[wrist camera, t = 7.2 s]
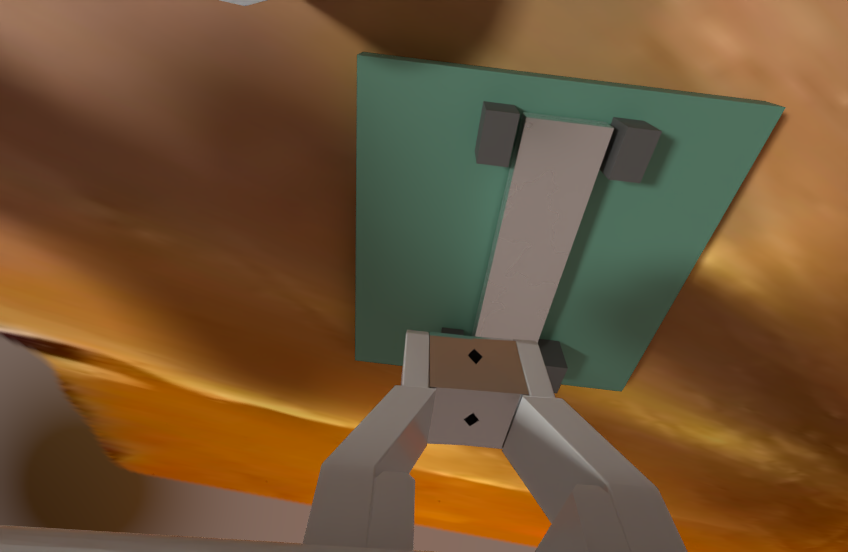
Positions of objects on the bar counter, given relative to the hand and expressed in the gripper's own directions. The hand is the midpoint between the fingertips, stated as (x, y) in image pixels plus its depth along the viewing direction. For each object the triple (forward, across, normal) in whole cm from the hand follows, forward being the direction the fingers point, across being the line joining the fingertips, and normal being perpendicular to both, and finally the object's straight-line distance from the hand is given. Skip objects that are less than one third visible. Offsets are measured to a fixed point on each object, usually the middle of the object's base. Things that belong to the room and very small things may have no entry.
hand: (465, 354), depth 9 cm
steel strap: (+14, -5, +5) cm, 15 cm away
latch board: (+15, -5, +6) cm, 17 cm away
